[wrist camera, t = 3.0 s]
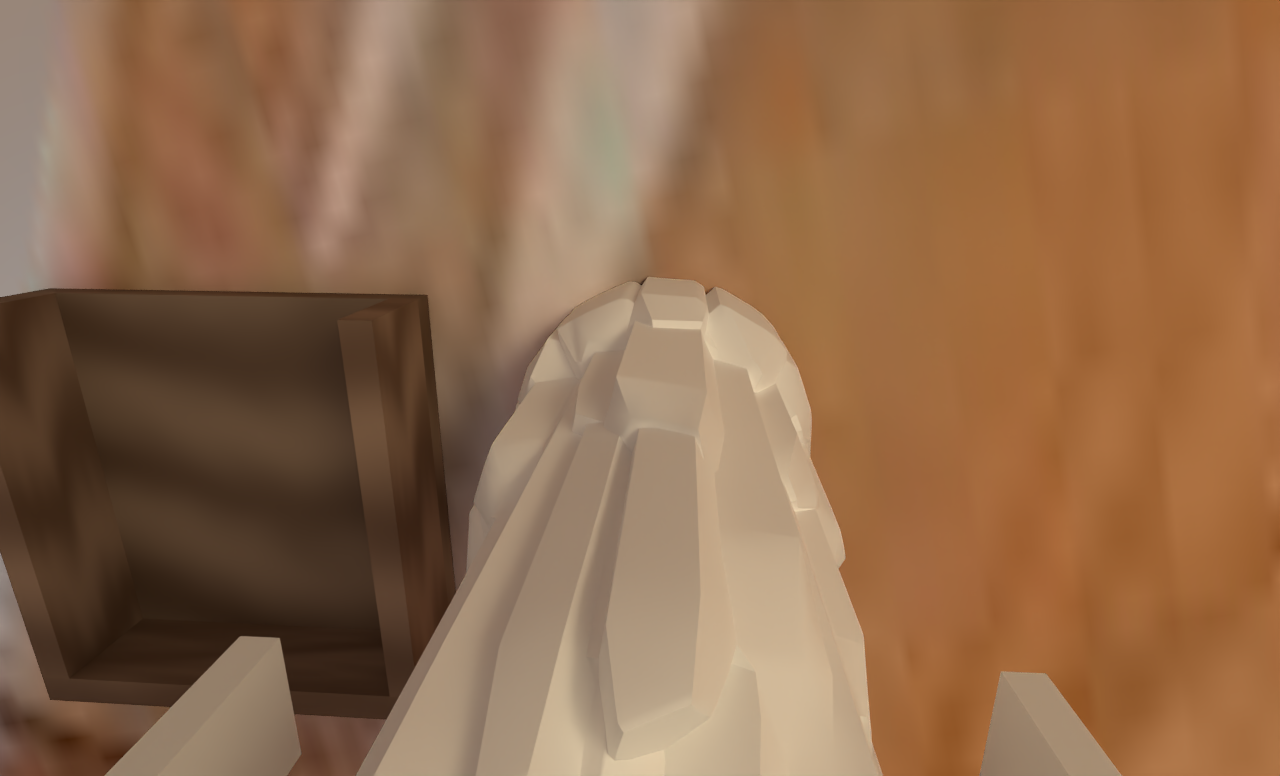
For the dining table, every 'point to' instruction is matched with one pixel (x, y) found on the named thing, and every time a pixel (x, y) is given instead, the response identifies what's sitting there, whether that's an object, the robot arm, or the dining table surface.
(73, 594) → the brown wooden tray
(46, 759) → the dining table surface
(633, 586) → the decorative vase
